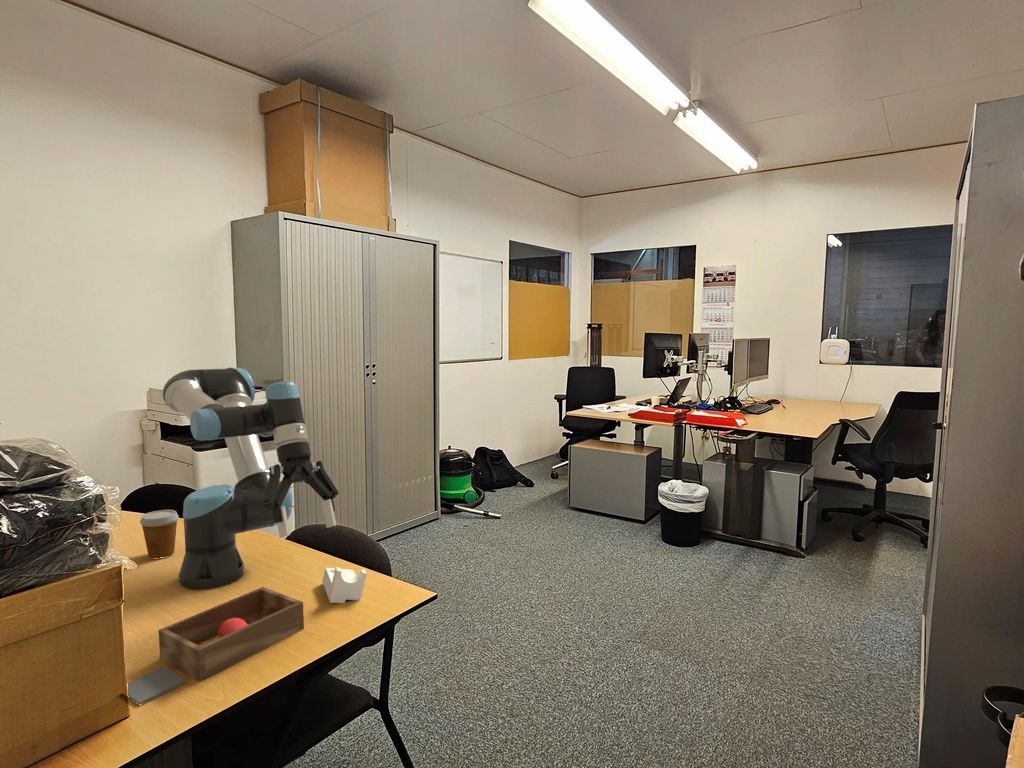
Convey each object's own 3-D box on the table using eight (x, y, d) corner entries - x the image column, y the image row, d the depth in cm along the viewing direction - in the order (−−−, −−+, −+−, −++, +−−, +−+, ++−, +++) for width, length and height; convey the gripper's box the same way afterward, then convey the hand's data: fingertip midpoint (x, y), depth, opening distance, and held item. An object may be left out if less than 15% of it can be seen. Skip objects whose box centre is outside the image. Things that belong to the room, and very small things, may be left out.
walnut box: (160, 659, 116) (158, 630, 116) (263, 612, 135) (262, 586, 135) (200, 681, 109) (198, 650, 108) (303, 628, 128) (303, 602, 127)
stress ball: (251, 637, 127) (237, 611, 127) (259, 639, 120) (244, 612, 120) (227, 653, 124) (213, 627, 124) (233, 656, 117) (218, 628, 117)
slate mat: (117, 690, 106) (116, 687, 106) (163, 669, 113) (162, 666, 113) (139, 705, 102) (139, 702, 102) (186, 682, 108) (186, 679, 108)
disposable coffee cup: (187, 553, 171) (185, 512, 170) (152, 564, 163) (150, 521, 162) (169, 546, 176) (167, 507, 175) (135, 557, 168) (132, 516, 167)
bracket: (359, 604, 142) (366, 573, 142) (329, 602, 139) (337, 571, 139) (349, 583, 154) (356, 554, 154) (322, 581, 151) (329, 552, 151)
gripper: (256, 442, 131) (274, 537, 126) (341, 438, 152) (359, 519, 148) (236, 451, 134) (252, 544, 130) (322, 446, 156) (338, 526, 151)
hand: (309, 531), depth 139 cm, fingers open, 13 cm apart
